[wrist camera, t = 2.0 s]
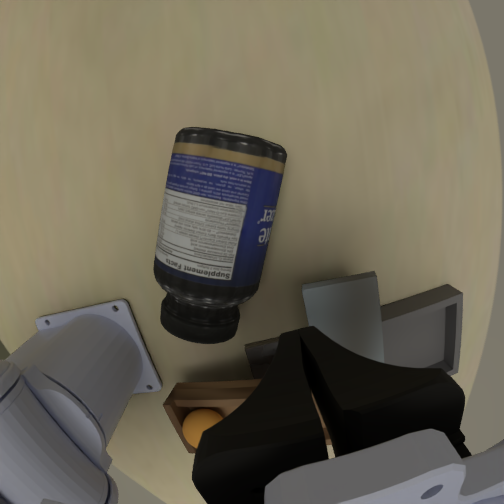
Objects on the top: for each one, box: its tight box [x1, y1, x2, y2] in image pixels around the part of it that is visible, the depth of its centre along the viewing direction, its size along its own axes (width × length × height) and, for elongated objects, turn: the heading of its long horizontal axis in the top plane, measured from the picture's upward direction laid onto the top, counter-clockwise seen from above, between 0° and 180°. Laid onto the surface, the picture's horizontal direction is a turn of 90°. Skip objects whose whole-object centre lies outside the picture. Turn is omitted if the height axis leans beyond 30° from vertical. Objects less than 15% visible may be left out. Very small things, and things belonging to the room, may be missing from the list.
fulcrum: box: [245, 337, 279, 379], centre depth 22 cm, size 5×7×3 cm
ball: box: [182, 409, 223, 448], centre depth 19 cm, size 3×3×3 cm
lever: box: [163, 271, 384, 453], centre depth 18 cm, size 14×11×3 cm
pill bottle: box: [154, 127, 287, 344], centre depth 18 cm, size 6×6×11 cm
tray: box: [380, 284, 463, 376], centre depth 22 cm, size 8×8×2 cm
